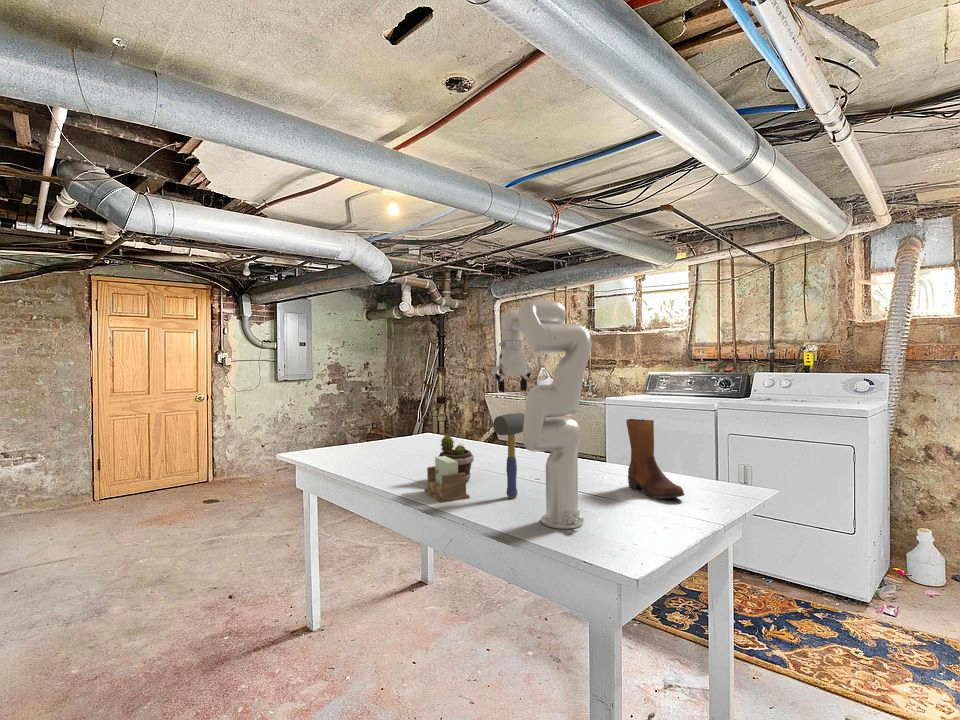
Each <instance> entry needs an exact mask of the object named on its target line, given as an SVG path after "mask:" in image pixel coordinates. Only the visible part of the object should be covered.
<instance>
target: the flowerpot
mask: <svg viewBox="0 0 960 720" xmlns="http://www.w3.org/2000/svg"><path fill="white" fill-rule="evenodd" d="M439 442H440V443H439V446H440V450H441V452H440V453H439V454H438V456H437V457H440V456H446V457H448V458H451V459H453V460H455V461H457V462H458V473H466V483H468V482H469V480H470V478H471V475H472V474H471V468H472V463H473V462H474V461H475V460H474V458H475V456H474V454H473V453H472V452H471V450H468V449H466V447H465V446H464V445H465V444H464V443H463V444H461V443H459V444H457V445H456V447H455V439H453V437H451V436H450V435H449V434H447V432H445V434H444V435H443V437H442V438H441V439H440V440H439Z"/></svg>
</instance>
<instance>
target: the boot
mask: <svg viewBox="0 0 960 720" xmlns="http://www.w3.org/2000/svg"><path fill="white" fill-rule="evenodd" d="M625 423H626V428H627V433H628V438H629V444H630V463H629V466H628V468H627V483H628V488H629V489H631V490H633V491H636V492H640V491H643V492H644V493H645V495H646V496H648V497H649V498H652V499H659V500H660V499H672V498H673V499H674V498H679V497H684V496H685V493H684V489H683V488H682V486H680V485H677V484H675V483H673V482H672V481H671V480H670V479H669V478H668V477H667V476H666V475H665V474H664V473H663V472H662V470H661V469H660V467H659V465H658V464H657V461H656V458H655V429H654V428H655V427H654V425H655V420H654V419H653V420H652V419H638V418H637V419H636V418H628V419H626V420H625Z"/></svg>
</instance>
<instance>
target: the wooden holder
mask: <svg viewBox="0 0 960 720" xmlns="http://www.w3.org/2000/svg"><path fill="white" fill-rule="evenodd" d="M426 469H427V470H426V471H427V474H426V475H427V488H424V493H426V494H428V495H429V496H430V497H431V498H433V499H435V500H437V501H438V502H439V503H447V502H453V501H458V500H459V501H460V500H461V501H462V500H466V499H470V495H469V494H468V493H467V482H466V473H457V474H449V475H442V486H440V485H439V484H437V483H435V465H434V466H427V468H426Z"/></svg>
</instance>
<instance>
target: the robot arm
mask: <svg viewBox="0 0 960 720" xmlns="http://www.w3.org/2000/svg"><path fill="white" fill-rule="evenodd" d="M566 316H567V310H566V309H565V307H564V305H563V304H562V303H560V302H558V301H554V300H531V299H530V300H525V301H524V302H522V304H521V305H520V306H519V309H512V310H511V309H510V310H508V311H507V312H504V313H502V315H501V320H500V322H501V342H499V343H498V345H499V346H500V347H501V349H500V351H499V355H498V365H497V366H495V367H493V368H492V369H491V373H492V376H493V377H494V378H495V380H496V381H497V389H498V392H499V393H504V392H505V381H504V379H505V378H506V377H507V376H508V377H513V376H514V377H515V376H516V377H517V376H519V378H520V385H519V387H520V391H521V392H527V386H528V384H527V383H528V380H529V378H530V376H531V375H532V371H533V368H532V367H531V366H529V365H528V364H527V359H526V353H525V352H526V351H525V349H524V348H523V340H522V337H523V335H522V334H523V333H524V336H525V338H526V340H527V342H528V344H529V346H530V348H531V349H532V350H533V351H534V352H535V353H536V352H537V353H540V354H541V353H542V354H543V353H545V354H546V353H547V354H548V353H551V354H552V353H553V354H554V353H556V354H557V353H565V355H563V356H562V358H561V359H560V360H559V361H558V362H557V364H556V365H555V367H554V372H553V381H552V382H551V383H550V384H539V385H534V386H532V387H531V388H530V389H529V391H528V392H527V396H526V398H525V406H524V424H523V432H522V441H523V442H522V443H523V444H524V445H523V446H524V448H525V449H527V451H530V452H532V453H533V452H535V453H536V452H537V453H538V452H540V453H541V452H550V451H551V452H550V453H549V455H548V456H547V459H546V462H545V510H546V511H545V512H546V513H545V514H543V515H542V516H541V517H540V520H541V523H542V524H543V525H545V526H546V527H549V528H553V529H558V530H559V529H560V530H561V529H563V530H568V529H576V528H579V527H582V526H583V524H584V521H585V519H584V517H583V516H581V513H580V509H579V490H578V489H579V487H578V478H579V477H578V476H579V475H578V474H579V473H578V472H579V471H578V468H579V467H578V465H579V463H578V461H579V460H578V459H579V458H578V456H579V449H580V448H579V447H580V443H581V436H582V435H581V434H582V433H581V427H580V425H579V424H578V422H577V421H576V420H574V419H572V418H569V416H574V415H576V413H577V412H578V411H579V407H580V404H581V397H582V391H583V382H584V374H585V370H586V368H587V365H588V362H589V360H590V355H591V351H592V338H591V334H590V332H589V331H588V329H587V328H586V327H585V326H583V325H580V324H575V323H564V321H565V319H566ZM522 332H523V333H522Z"/></svg>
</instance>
